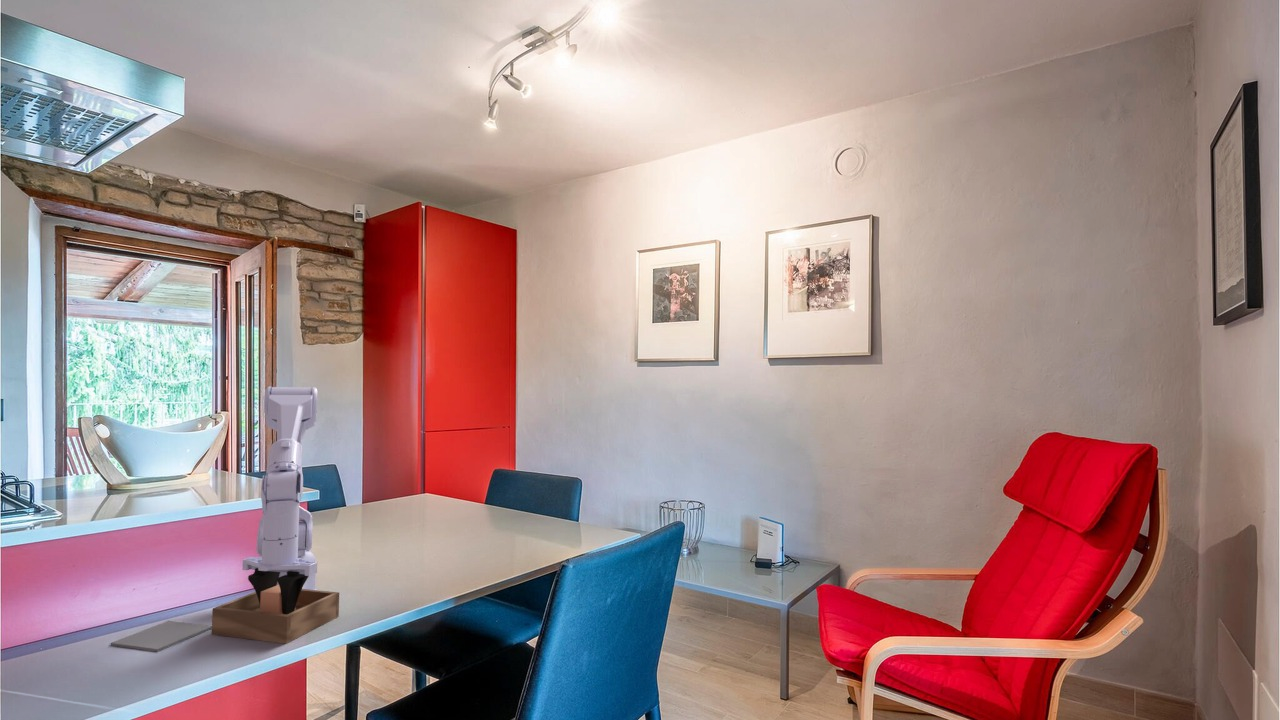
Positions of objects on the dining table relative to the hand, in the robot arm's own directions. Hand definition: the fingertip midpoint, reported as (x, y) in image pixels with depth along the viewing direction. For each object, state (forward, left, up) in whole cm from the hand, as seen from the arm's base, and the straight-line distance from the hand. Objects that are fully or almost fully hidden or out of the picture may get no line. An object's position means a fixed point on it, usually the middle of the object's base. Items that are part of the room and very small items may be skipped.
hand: (278, 611), depth 111 cm
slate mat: (+9, -15, -2) cm, 18 cm away
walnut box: (0, 0, -2) cm, 2 cm away
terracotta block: (0, 0, -1) cm, 1 cm away
